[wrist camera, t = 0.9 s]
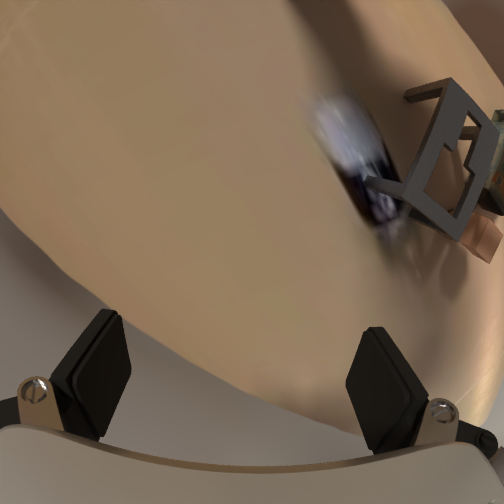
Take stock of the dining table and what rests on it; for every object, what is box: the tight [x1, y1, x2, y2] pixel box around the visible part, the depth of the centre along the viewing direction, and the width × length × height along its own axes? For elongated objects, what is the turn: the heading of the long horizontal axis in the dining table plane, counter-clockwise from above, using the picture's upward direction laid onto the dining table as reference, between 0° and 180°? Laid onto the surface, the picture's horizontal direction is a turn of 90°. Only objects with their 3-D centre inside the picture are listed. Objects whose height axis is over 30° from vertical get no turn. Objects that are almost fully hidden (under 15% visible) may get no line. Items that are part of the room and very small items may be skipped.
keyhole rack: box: [362, 77, 500, 242], centre depth 29 cm, size 17×11×11 cm, turn 154°
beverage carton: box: [465, 110, 504, 216], centre depth 31 cm, size 8×19×7 cm, turn 149°
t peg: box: [444, 210, 503, 264], centre depth 33 cm, size 5×5×10 cm
